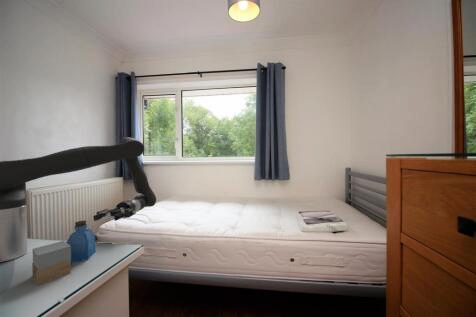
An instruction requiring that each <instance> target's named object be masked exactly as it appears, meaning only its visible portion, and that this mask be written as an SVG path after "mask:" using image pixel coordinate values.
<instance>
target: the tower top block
mask: <svg viewBox="0 0 476 317" xmlns="http://www.w3.org/2000/svg"><path fill="white" fill-rule="evenodd" d="M66 242H67V241H65V240H61V241H58V242H53V243H49V244H45V245H42V246H38V247H35V248H32V263H33V264H34V265H35V266H36V268H37V269H38V270H41V269H44V268H47V267H50V266H53V265H56V264H59V263H62V262H65V261H68V260H71V246H70V245H69V244H67V243H66Z"/></svg>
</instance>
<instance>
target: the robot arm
mask: <svg viewBox="0 0 476 317" xmlns="http://www.w3.org/2000/svg"><path fill="white" fill-rule="evenodd" d="M144 152H145V145H144V144H143V143H142V141H140V140H138V138H137V139H136V138H133V137H128V136H126V137H122V139H120V140H119V142H118V143H117V144H113V145H87V146H86V145H85V146H79V147H75V148H69V149H65V150H61V151H57V152H53V153H50V154H47V155H43V156H39V157H33V158H26V159H25V158H24V159H17V160H16V159H15V160H2V161H1V160H0V263H2V262H7V261H11V260H15V259H19V258H20V257H23V256H25V255H26V254H28V216H27V215H28V212H27V189H26V188H27V184H26V183H28V182H31V181H35V180H37V179H41V178H44V177H48V176H54V175H55V176H56V175H62V174H68V173H73V172H78V171H81V170H82V171H83V170H87V169H90V168H91V169H92V168H93V167H96V166H97V167H98V166H102V165H106V164H109V163H111V162H112V163H113V162H117V161H123V160H124V162H125V163H126V165H127V169H128V171H129V174H130V176H131V180H132V183H133V186H134V190H135V192H136V193H137V195H136V196H134V197H133V198H129V199H126V200H124V201H120V202H119V203H118V204H117V205H116V206H115V207H112V208H105V209H102V210H99V211H96V214H95V215H93V221H94V222H97V221H99V220H101V219H105V218H106V219H110V218H113V219H114V220H113V221H116V222H117V221H119V220H121V219H129V218H130V217H132V216H134V215H136V213H137V212H139V211H141V210H143V209H144V208H145V207H146V208H150V207H151V208H152V207H154V206H155V205H156V203H157V197H156V194H155V192H154V191H153V190H152V187H150V184H149V180H148V177H147V174H146V173H145V170H144V168H143V167H142V165H141V163H140V160H139V157H141V155H143V154H144ZM109 214H110V215H109Z"/></svg>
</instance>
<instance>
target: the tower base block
mask: <svg viewBox="0 0 476 317" xmlns="http://www.w3.org/2000/svg"><path fill="white" fill-rule="evenodd" d="M31 266H32V267H31V268H32V278H33V279H34V281H35V283H36V285H38V286H39V285H41V284H45V283H47V282H50V281H52V280H55V279H58V278H60V277H64V276H65V275H69V274H71V273H72V267H71V266H72V262H71V260H68V261H65V262H62V263H59V264H56V265H53V266H50V267H47V268H44V269H41V270H38V269H37V268H36V266H35V265H34V264H33V262H32V263H31Z"/></svg>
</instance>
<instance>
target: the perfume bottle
mask: <svg viewBox="0 0 476 317" xmlns="http://www.w3.org/2000/svg"><path fill="white" fill-rule="evenodd" d="M73 229H74V232H73V233H71V234H70V235H69V237H68V239H67V240H66V241H65V242H66V243H67V244H69V245H70V246H71V263H75V262H84V261H89V260H90V258H91V257H93V256H94V254H95V253H96V234H95V233H94V232H93V230H92V229H90V228H88V224H87V220H79V221H75V222H74V228H73Z"/></svg>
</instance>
